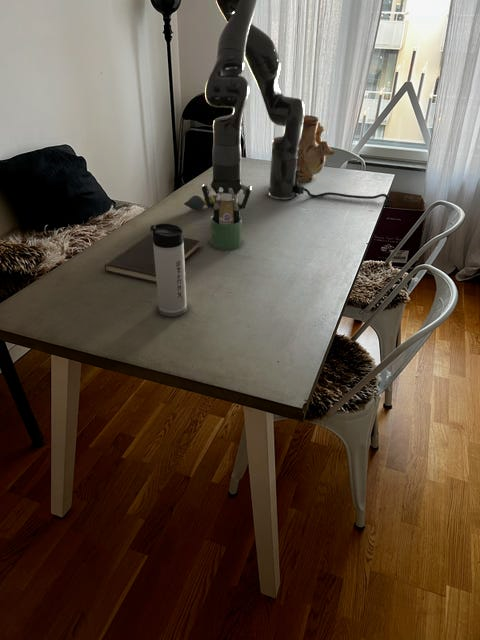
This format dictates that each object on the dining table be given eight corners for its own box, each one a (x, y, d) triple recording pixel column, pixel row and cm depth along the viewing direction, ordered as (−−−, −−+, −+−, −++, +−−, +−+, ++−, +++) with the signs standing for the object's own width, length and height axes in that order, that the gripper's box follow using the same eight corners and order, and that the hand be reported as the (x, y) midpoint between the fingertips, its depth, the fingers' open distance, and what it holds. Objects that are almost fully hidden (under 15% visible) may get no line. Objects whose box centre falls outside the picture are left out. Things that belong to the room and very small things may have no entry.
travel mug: (158, 302, 108) (151, 221, 97) (186, 302, 109) (183, 220, 98) (156, 317, 103) (148, 233, 92) (186, 316, 104) (182, 232, 92)
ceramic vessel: (330, 185, 184) (339, 117, 170) (283, 186, 182) (288, 117, 168) (318, 172, 199) (326, 108, 185) (274, 172, 197) (278, 108, 183)
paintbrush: (225, 198, 168) (225, 184, 166) (234, 201, 166) (234, 188, 163) (181, 211, 157) (180, 196, 154) (190, 215, 154) (190, 200, 151)
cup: (233, 235, 141) (233, 211, 137) (246, 246, 135) (246, 222, 131) (206, 240, 138) (205, 215, 134) (218, 252, 131) (218, 226, 127)
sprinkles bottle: (221, 241, 133) (221, 194, 125) (216, 234, 136) (216, 189, 129) (236, 239, 134) (237, 193, 127) (231, 233, 138) (232, 188, 130)
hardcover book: (200, 248, 133) (199, 240, 132) (159, 284, 115) (159, 276, 114) (151, 238, 138) (150, 231, 137) (105, 271, 120) (103, 263, 119)
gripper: (254, 157, 126) (252, 218, 135) (202, 155, 127) (203, 215, 136) (252, 165, 120) (250, 228, 129) (197, 163, 121) (199, 225, 130)
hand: (226, 221), depth 133 cm, fingers closed on sprinkles bottle, 4 cm apart
